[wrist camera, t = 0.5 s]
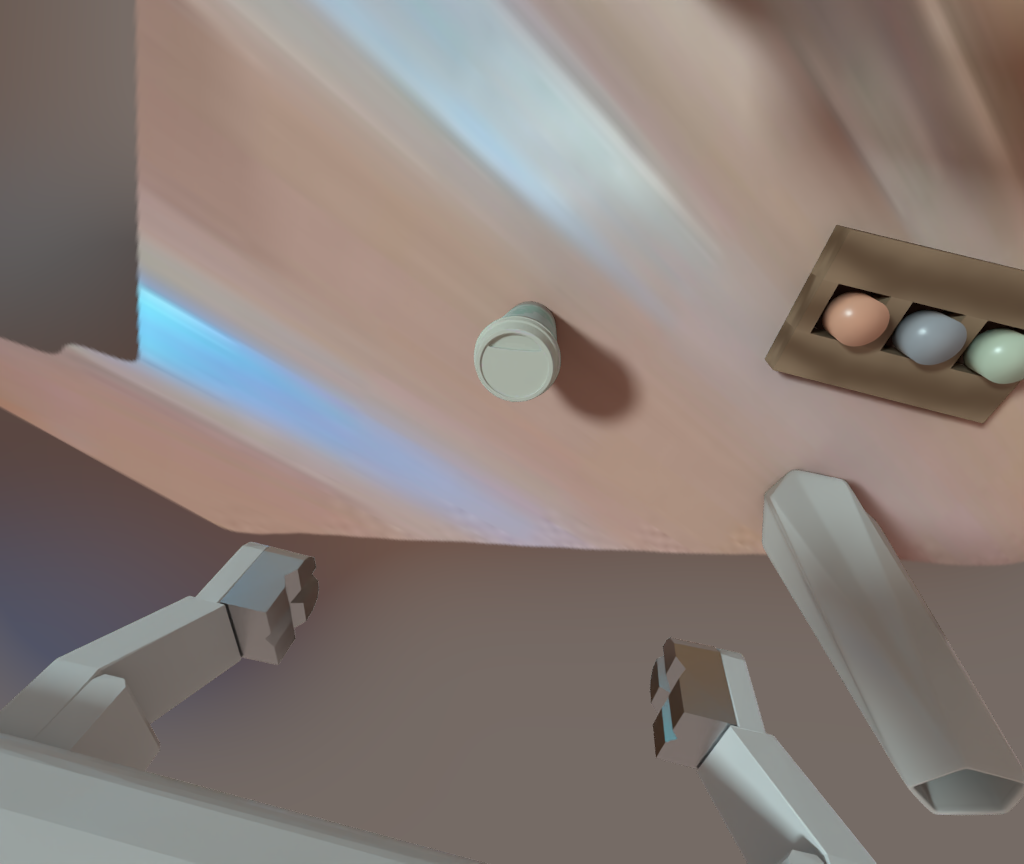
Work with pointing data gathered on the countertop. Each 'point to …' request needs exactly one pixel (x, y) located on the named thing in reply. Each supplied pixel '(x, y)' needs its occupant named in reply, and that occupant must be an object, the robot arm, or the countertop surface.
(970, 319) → the panel
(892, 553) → the white faceted column
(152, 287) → the countertop surface
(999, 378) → the button sage
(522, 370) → the coffee cup
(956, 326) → the button grey
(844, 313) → the button terracotta
